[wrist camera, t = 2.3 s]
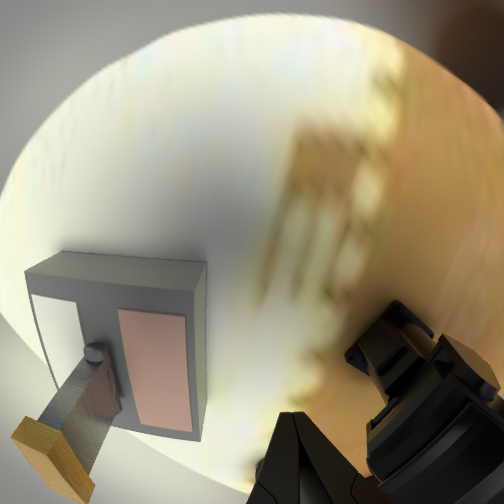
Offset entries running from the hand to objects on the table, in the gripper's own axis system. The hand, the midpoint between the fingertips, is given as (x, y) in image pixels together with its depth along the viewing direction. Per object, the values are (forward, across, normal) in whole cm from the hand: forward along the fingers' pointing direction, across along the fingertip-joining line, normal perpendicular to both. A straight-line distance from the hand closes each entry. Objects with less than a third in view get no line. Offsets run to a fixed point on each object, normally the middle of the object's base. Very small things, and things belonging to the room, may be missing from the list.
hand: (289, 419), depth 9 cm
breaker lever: (+6, +10, +5) cm, 13 cm away
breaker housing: (+12, +10, +5) cm, 16 cm away
